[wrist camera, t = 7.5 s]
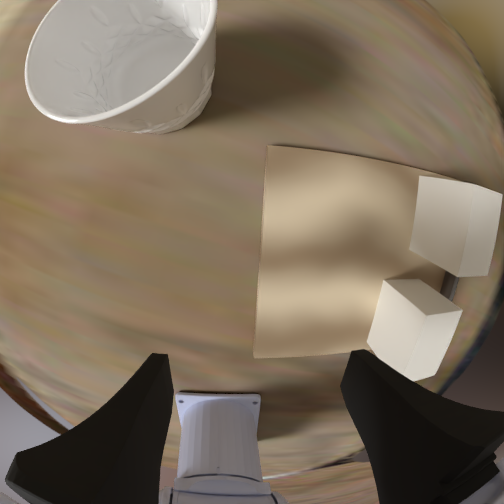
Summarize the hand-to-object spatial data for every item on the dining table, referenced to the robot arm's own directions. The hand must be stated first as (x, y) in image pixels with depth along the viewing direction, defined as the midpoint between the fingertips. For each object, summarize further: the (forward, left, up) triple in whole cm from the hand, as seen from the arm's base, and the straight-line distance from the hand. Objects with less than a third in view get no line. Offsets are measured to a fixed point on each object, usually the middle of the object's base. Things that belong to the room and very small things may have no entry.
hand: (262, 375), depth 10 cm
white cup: (+13, +6, -11) cm, 18 cm away
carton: (-3, -13, -10) cm, 16 cm away
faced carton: (+6, -15, -10) cm, 19 cm away
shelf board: (+1, -10, -10) cm, 14 cm away
